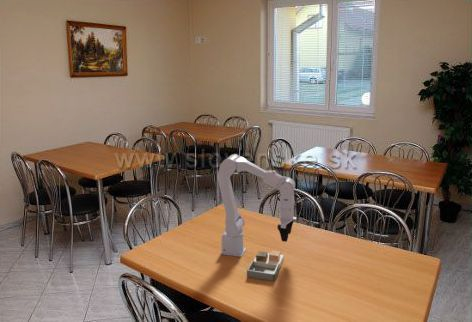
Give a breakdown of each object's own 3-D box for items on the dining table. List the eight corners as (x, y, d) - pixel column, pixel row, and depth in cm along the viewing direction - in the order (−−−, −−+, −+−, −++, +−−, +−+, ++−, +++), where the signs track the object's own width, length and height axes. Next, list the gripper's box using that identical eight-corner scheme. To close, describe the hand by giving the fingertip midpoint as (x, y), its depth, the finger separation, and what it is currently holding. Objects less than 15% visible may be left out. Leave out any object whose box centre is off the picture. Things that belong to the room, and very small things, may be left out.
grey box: (247, 277, 157) (247, 270, 156) (253, 265, 165) (253, 259, 164) (274, 281, 153) (274, 274, 152) (279, 269, 161) (279, 263, 161)
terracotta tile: (268, 260, 165) (268, 254, 165) (271, 255, 169) (271, 250, 168) (278, 261, 164) (278, 256, 163) (280, 256, 168) (280, 251, 167)
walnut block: (256, 260, 165) (256, 255, 164) (258, 256, 169) (258, 250, 168) (265, 262, 164) (265, 256, 163) (267, 257, 167) (267, 252, 167)
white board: (253, 265, 165) (253, 261, 164) (258, 255, 173) (258, 251, 173) (279, 269, 161) (279, 265, 161) (283, 259, 170) (283, 255, 169)
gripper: (293, 214, 157) (292, 246, 160) (299, 202, 170) (298, 231, 174) (275, 212, 159) (275, 243, 162) (283, 200, 172) (282, 229, 176)
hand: (286, 237), depth 168 cm, fingers open, 7 cm apart
